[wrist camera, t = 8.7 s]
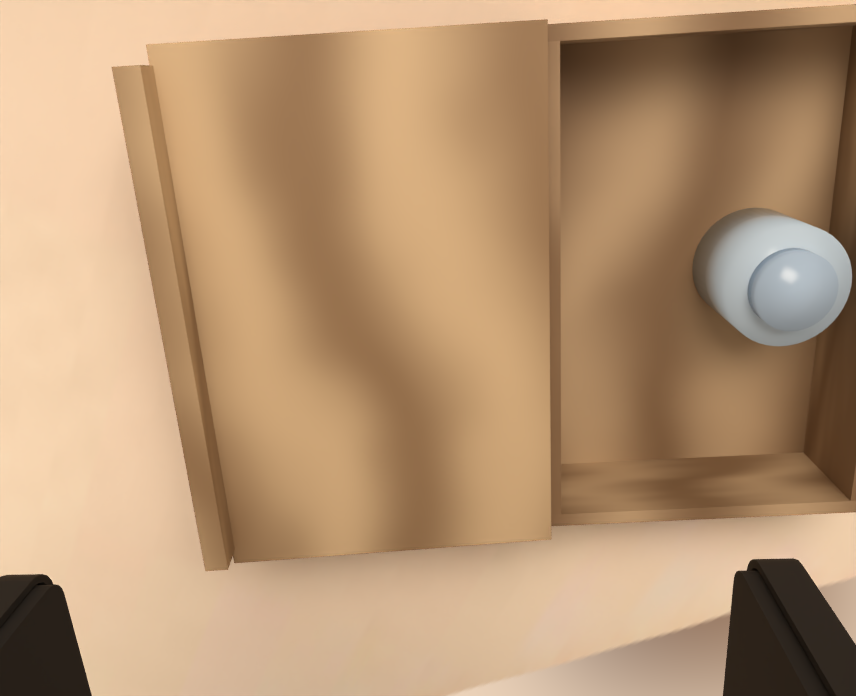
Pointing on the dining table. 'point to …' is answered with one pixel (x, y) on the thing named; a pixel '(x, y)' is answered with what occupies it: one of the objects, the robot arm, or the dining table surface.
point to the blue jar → (772, 275)
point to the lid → (352, 283)
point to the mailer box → (673, 259)
